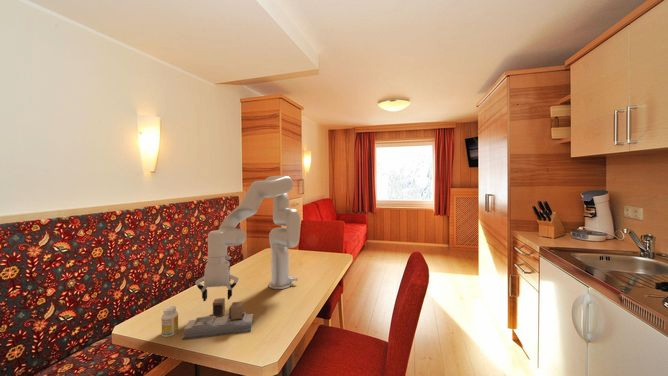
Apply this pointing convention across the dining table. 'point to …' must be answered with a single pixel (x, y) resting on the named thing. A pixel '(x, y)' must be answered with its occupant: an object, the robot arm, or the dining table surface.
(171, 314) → the supplement bottle
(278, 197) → the robot arm
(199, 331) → the rail
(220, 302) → the brown rectangular block
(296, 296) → the dining table surface
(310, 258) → the dining table surface
